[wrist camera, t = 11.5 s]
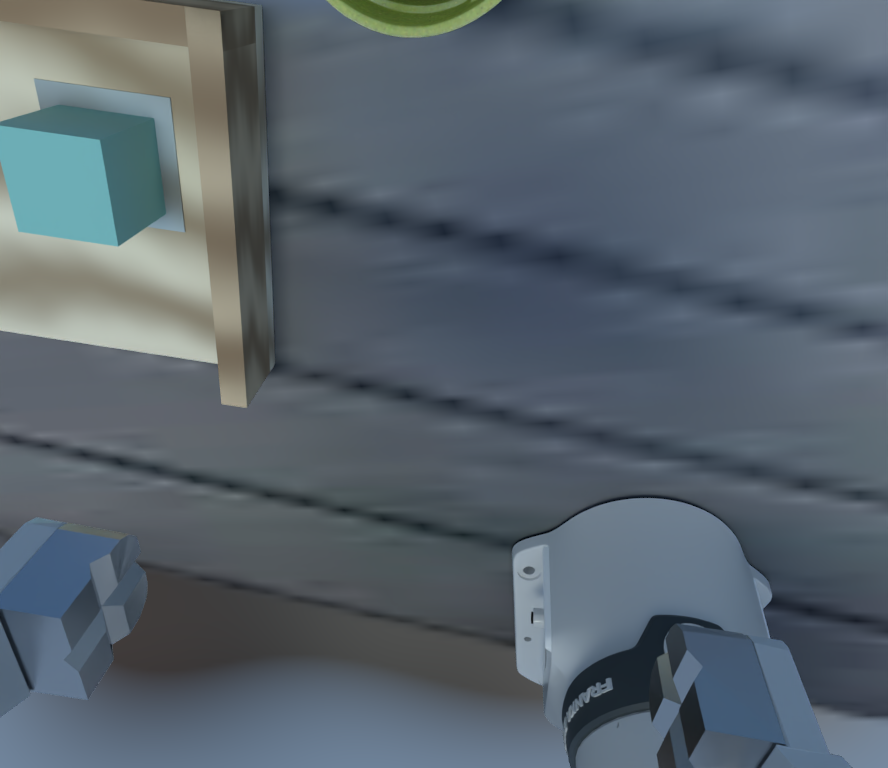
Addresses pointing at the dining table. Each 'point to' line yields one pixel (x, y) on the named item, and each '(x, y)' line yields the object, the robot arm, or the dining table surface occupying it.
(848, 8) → the dining table surface
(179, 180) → the arena
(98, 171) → the cube
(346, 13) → the plant pot
